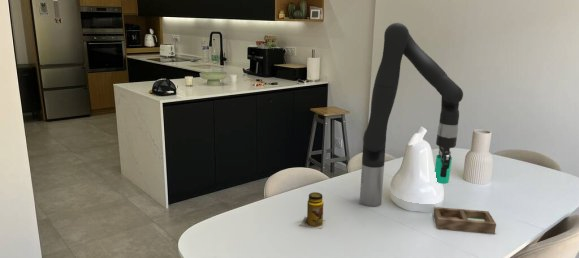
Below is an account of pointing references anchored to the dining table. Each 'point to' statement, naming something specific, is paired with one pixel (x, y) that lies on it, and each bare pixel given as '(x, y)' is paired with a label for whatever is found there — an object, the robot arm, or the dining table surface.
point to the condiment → (314, 211)
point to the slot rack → (464, 220)
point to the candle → (438, 170)
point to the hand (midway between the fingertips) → (441, 174)
